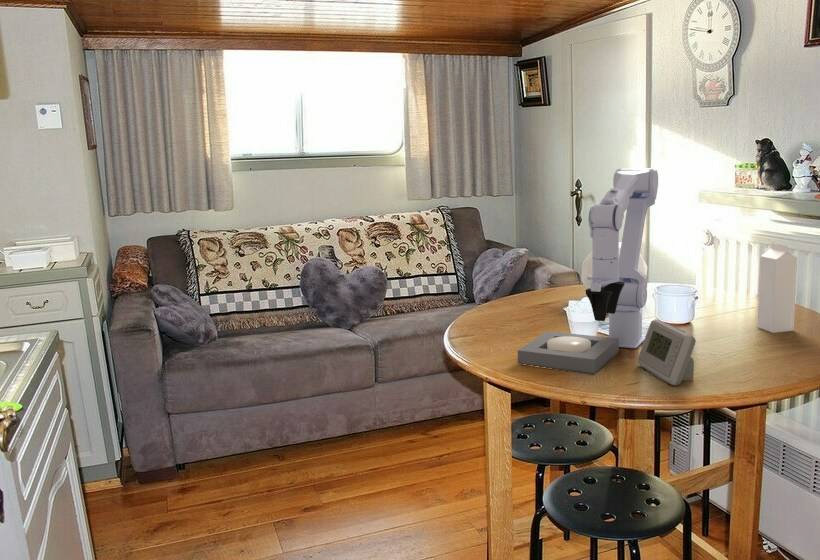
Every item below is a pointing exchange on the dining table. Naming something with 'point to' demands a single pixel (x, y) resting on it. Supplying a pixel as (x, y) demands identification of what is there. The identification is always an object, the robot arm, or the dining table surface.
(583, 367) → the button housing
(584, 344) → the button cap
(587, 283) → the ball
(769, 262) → the milk
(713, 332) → the dining table surface
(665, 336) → the digital clock
